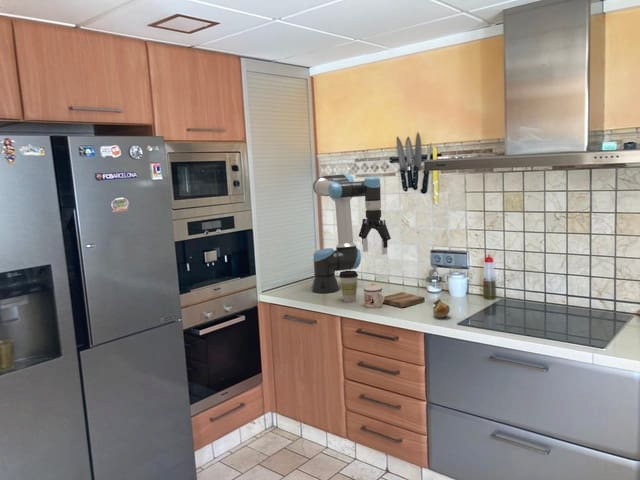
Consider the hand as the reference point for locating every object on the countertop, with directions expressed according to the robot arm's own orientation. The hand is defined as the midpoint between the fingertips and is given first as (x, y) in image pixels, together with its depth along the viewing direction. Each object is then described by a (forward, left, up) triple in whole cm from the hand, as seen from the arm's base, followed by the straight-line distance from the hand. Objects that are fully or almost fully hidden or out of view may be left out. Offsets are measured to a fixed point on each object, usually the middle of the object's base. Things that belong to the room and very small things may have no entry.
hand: (374, 252), depth 256 cm
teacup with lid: (0, -1, -27) cm, 27 cm away
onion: (+35, +7, -27) cm, 45 cm away
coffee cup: (-18, -3, -27) cm, 33 cm away
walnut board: (+4, +13, -27) cm, 30 cm away
